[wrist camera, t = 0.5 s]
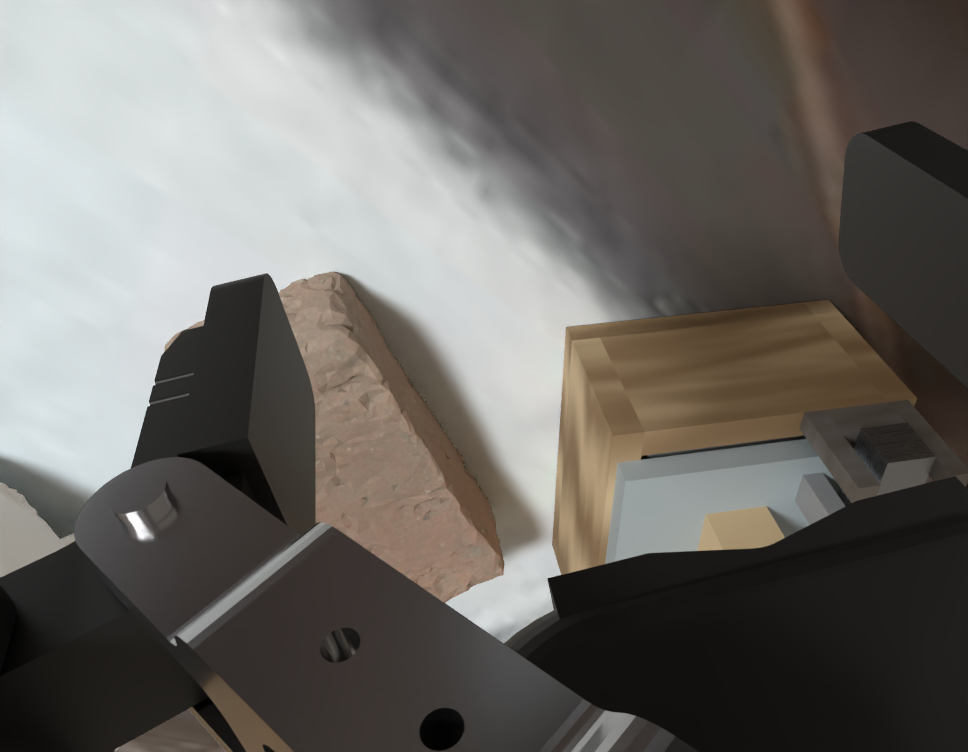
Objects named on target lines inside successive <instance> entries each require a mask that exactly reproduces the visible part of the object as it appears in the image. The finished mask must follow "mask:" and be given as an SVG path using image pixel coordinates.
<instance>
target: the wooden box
mask: <svg viewBox="0 0 968 752" xmlns="http://www.w3.org/2000/svg"><path fill="white" fill-rule="evenodd" d="M916 401H917V398H916V396H915V395H914V394H913V393H912V392H911V391H910V390H909V389H908V388H907V386H906V385H905V384H904V383H903V382H902V381H901V380H900V379H899V378H898V376H897V375H896V374H895V373H894V372H893V371H892V370H891V369H890V367H889V366H888V365H887V364H886V363H885V362H884V361H883V360H882V359H881V357H880V356H879V355H878V354H877V353H876V352H875V351H874V350H873V349H872V347H871V346H870V345H869V344H868V343H867V342H866V341H865V340H864V339H863V337H862V336H861V335H860V334H859V333H858V332H857V331H856V330H855V328H854V327H853V326H852V325H851V324H850V323H849V322H848V321H847V320H846V318H845V317H844V316H843V315H842V314H841V313H840V312H839V311H838V310H837V308H836V307H835V306H834V305H833V304H832V303H831V302H830V301H829V300H820V301H811V302H801V303H792V304H782V305H773V306H763V307H754V308H744V309H735V310H725V311H716V312H706V313H696V314H687V315H677V316H668V317H658V318H649V319H639V320H630V321H620V322H611V323H601V324H592V325H582V326H573V327H566V339H565V354H564V370H563V386H562V401H561V417H560V432H559V448H558V464H557V479H556V495H555V510H554V526H553V542H552V545H553V548H554V552H555V555H556V558H557V562H558V565H559V568H560V572H561V575H563V574H567V573H571V572H575V571H579V570H583V569H587V568H591V567H595V566H599V565H603V564H605V560H606V552H607V544H608V536H609V528H610V520H611V512H612V504H613V496H614V488H615V480H616V472H617V464H618V463H619V462H627V461H635V460H642V459H643V456H644V455H652V454H660V453H668V452H676V451H684V450H692V449H700V448H708V447H716V446H724V445H732V444H739V443H747V442H755V441H763V440H771V439H779V438H787V437H795V436H803V435H804V436H805V437H806V439H807V440H808V441H809V443H810V444H811V446H812V447H813V449H814V450H815V451H816V453H817V454H818V456H819V457H820V459H821V460H822V462H823V463H824V464H825V466H826V467H827V469H828V470H829V472H830V473H831V474H832V476H833V477H834V479H835V480H836V482H837V483H838V485H839V486H840V487H841V489H842V490H843V492H844V493H845V495H846V496H847V497H848V499H849V500H850V502H851V503H853V502H855V501H858V500H862V499H866V498H870V497H874V496H877V494H878V491H879V489H880V486H881V485H880V484H879V482H878V481H877V480H876V478H875V477H874V476H873V474H872V473H871V472H870V470H869V469H868V468H867V466H866V465H865V464H864V462H863V461H862V460H861V458H860V457H859V456H858V454H857V453H856V452H855V450H854V446H855V443H856V441H857V438H858V435H859V432H860V429H861V428H869V427H877V426H884V425H892V424H900V423H908V424H909V425H910V426H911V427H912V429H913V430H914V431H915V432H916V433H917V434H918V436H919V437H920V438H921V439H922V440H923V442H924V443H925V444H926V445H927V446H928V447H929V449H930V450H931V451H932V452H933V453H934V454H935V456H936V459H935V461H934V464H933V466H932V468H931V470H930V473H929V475H930V477H931V478H932V479H933V480H934V481H938V480H942V479H946V478H950V477H954V476H956V477H957V478H958V479H959V481H960V482H961V483H962V484H963V485H964V486H965V487H966V485H967V483H968V468H967V466H966V465H965V464H964V463H963V462H962V461H961V460H960V459H959V457H958V456H957V455H956V454H955V453H954V452H953V451H952V449H951V448H950V447H949V446H948V445H947V444H946V443H945V441H944V440H943V439H942V438H941V437H940V436H939V435H938V434H937V432H936V431H935V430H934V429H933V428H932V427H931V426H930V424H929V423H928V422H927V421H926V420H925V419H924V418H923V417H922V415H921V414H920V413H919V412H918V411H917V410H916V409H915V407H914V406H915V403H916Z"/></svg>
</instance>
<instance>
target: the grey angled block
mask: <svg viewBox="0 0 968 752" xmlns="http://www.w3.org/2000/svg"><path fill="white" fill-rule="evenodd" d="M854 450H855V452H856V453H857V454H858V456H859V457H860V458H861V460H862V461H863V462H864V464H865V465H866V466H867V468H868V469H869V470H870V472H871V473H872V474H873V476H874V477H875V478H876V480H877V481H878V482H879V484H880V485H881V486H880V489H879V491H878V494H877V496H878V495H882V494H886V493H890V492H894V491H898V490H902V489H906V488H910V487H914V486H918V485H922V484H925V482H926V479H927V477H928V475H929V473H930V470H931V468H932V466H933V464H934V461H935V459H936V456H935V454H934V453H933V452H932V451H931V450H930V449H929V447H928V446H927V445H926V444H925V443H924V442H923V440H922V439H921V438H920V437H919V436H918V434H917V433H916V432H915V431H914V430H913V429H912V427H911V426H910V425H909V424H908V423H900V424H892V425H884V426H877V427H869V428H861V429H860V432H859V435H858V438H857V441H856V443H855V446H854ZM837 495H838V496H839V498H840V499H841V500H842V502H843V503H844V505H845V506H847V505H849V504H851V502H850V500H849V499H848V497H847V496H846V495H845V493H844V492H843V490H842V489H841V487H840V488H839V491H838V494H837Z"/></svg>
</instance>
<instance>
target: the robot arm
mask: <svg viewBox="0 0 968 752" xmlns="http://www.w3.org/2000/svg"><path fill="white" fill-rule="evenodd" d="M839 252H840V257H841V261H842V264H843V267H844V269H845V272H846V273H847V275H848V277H849V278H850V280H851V281H852V282H853V283H854V284H855V285H856V286H857V287H858V288H859V289H860V290H861V291H863V292H864V293H865V294H866V295H867V296H868V297H869V298H870V299H871V300H872V301H873V302H874V303H876V304H877V305H878V306H879V307H880V308H881V309H882V310H883V311H884V312H885V313H886V314H887V315H889V316H890V317H891V318H892V319H893V320H894V321H895V322H896V323H897V324H898V325H899V326H900V327H902V328H903V329H904V330H905V331H906V332H907V333H908V334H909V335H910V336H911V337H912V338H913V339H915V340H916V341H917V342H918V343H919V344H920V345H921V346H922V347H923V348H924V349H925V350H927V351H928V352H929V353H930V354H931V355H932V356H933V357H934V358H935V359H936V360H937V361H938V362H940V363H941V364H942V365H943V366H944V367H945V368H946V369H947V370H948V371H949V372H950V373H951V374H953V375H954V376H955V377H956V378H957V379H958V380H959V381H960V382H961V383H962V384H963V385H964V386H966V387H967V388H968V150H966V149H964V148H962V147H960V146H958V145H957V144H955V143H953V142H951V141H949V140H948V139H946V138H944V137H942V136H940V135H939V134H937V133H935V132H933V131H932V130H930V129H928V128H926V127H924V126H923V125H921V124H919V123H917V122H912V121H911V122H906V123H902V124H898V125H893V126H889V127H885V128H881V129H877V130H872V131H868V132H864V133H860V134H857V135H855V136H854V137H853V138H852V139H851V140H850V142H849V144H848V146H847V150H846V154H845V165H844V177H843V190H842V203H841V216H840V228H839ZM155 384H156V385H155V386H153V389H152V392H151V396H150V400H149V403H150V406H148V407H147V411H146V414H145V418H144V422H143V426H142V429H141V433H140V437H139V440H138V444H137V448H136V451H135V455H134V459H133V463H132V466H131V469H129V470H127V471H125V472H123V473H121V474H120V475H118V476H116V477H115V478H113V479H112V480H110V481H109V482H108V483H106V484H105V485H103V486H102V487H101V488H100V489H99V490H98V491H97V492H95V493H94V494H93V496H92V497H91V498H90V499H89V500H88V501H87V502H86V504H85V505H84V507H83V508H82V509H81V511H80V513H79V515H78V517H77V519H76V523H75V527H74V537H75V541H74V542H72V543H71V544H69V545H67V546H65V547H63V548H61V549H59V550H58V551H56V552H54V553H51V554H49V555H47V556H45V557H43V558H41V559H39V560H37V561H34V562H32V563H30V564H28V565H26V566H24V567H22V568H20V569H18V570H15V571H13V572H11V573H9V574H7V575H5V576H3V577H1V578H0V752H115V749H116V748H118V747H120V746H122V745H124V744H125V743H127V742H129V741H131V740H133V739H135V738H136V737H138V736H140V735H142V734H144V733H145V732H147V731H149V730H151V729H153V728H154V727H156V726H158V725H160V724H162V723H163V722H165V721H167V720H169V719H171V718H172V717H174V716H176V715H178V714H180V713H181V712H183V711H185V710H187V709H189V711H190V712H191V713H192V714H193V715H194V716H195V717H196V719H197V720H198V721H199V722H200V723H201V724H202V725H203V726H204V727H205V729H206V730H207V731H208V732H209V733H210V734H211V735H212V736H213V737H214V738H215V740H216V741H217V742H218V743H219V744H220V745H221V746H222V747H223V748H224V750H225V751H226V752H968V489H967V488H966V487H965V486H964V485H963V484H962V483H961V482H960V481H959V479H958V478H957V477H956V476H954V477H950V478H946V479H942V480H938V481H934V482H930V483H926V484H922V485H918V486H914V487H910V488H906V489H902V490H898V491H894V492H890V493H886V494H882V495H878V496H874V497H870V498H866V499H862V500H858V501H855V502H853V503H851V504H849V505H847V506H846V507H844V508H842V509H840V510H838V511H836V512H834V513H832V514H830V515H828V516H826V517H824V518H822V519H820V520H818V521H817V522H815V523H813V524H811V525H809V526H807V527H805V528H803V529H801V530H799V531H797V532H795V533H793V534H791V535H789V536H787V537H786V538H784V539H782V540H780V541H778V542H776V543H774V544H771V545H769V546H765V547H761V548H752V549H729V550H706V551H684V552H661V553H647V554H643V555H639V556H635V557H631V558H627V559H623V560H619V561H615V562H611V563H607V564H603V565H599V566H595V567H591V568H587V569H583V570H579V571H575V572H571V573H567V574H563V575H559V576H555V577H551V578H548V583H549V588H550V593H551V598H552V603H553V608H554V611H552V612H550V613H548V614H546V615H544V616H542V617H541V618H539V619H537V620H535V621H534V622H532V623H531V624H529V625H528V626H526V627H525V628H523V629H522V630H520V631H519V632H517V633H516V634H515V635H514V636H512V637H511V638H510V639H509V640H508V641H507V642H505V643H504V644H503V643H502V642H500V641H499V640H497V639H496V638H495V637H493V636H492V635H490V634H489V633H487V632H486V631H484V630H483V629H482V628H480V627H479V626H477V625H476V624H474V623H473V622H471V621H470V620H468V619H467V618H466V617H464V616H463V615H461V614H460V613H458V612H457V611H455V610H454V609H452V608H451V607H450V606H448V605H447V604H445V603H444V602H442V601H441V600H439V599H438V598H437V597H435V596H434V595H432V594H431V593H429V592H428V591H426V590H425V589H423V588H422V587H421V586H419V585H418V584H416V583H415V582H413V581H412V580H410V579H409V578H407V577H406V576H405V575H403V574H402V573H400V572H399V571H397V570H396V569H394V568H393V567H392V566H390V565H389V564H387V563H386V562H384V561H383V560H381V559H380V558H378V557H377V556H376V555H374V554H373V553H371V552H370V551H368V550H367V549H365V548H364V547H362V546H361V545H360V544H358V543H357V542H355V541H354V540H352V539H351V538H349V537H348V536H347V535H345V534H344V533H342V532H341V531H339V530H338V529H336V528H334V527H333V526H331V525H329V524H326V523H322V522H318V523H316V454H315V402H314V396H313V390H312V386H311V382H310V378H309V375H308V372H307V369H306V366H305V363H304V360H303V358H302V355H301V352H300V350H299V347H298V344H297V342H296V339H295V336H294V334H293V331H292V328H291V325H290V323H289V320H288V317H287V315H286V312H285V309H284V307H283V304H282V301H281V299H280V296H279V293H278V291H277V288H276V286H275V284H274V282H273V280H272V278H271V277H270V275H269V274H267V273H266V274H262V275H258V276H254V277H249V278H245V279H241V280H237V281H233V282H228V283H224V284H220V285H216V286H213V287H212V288H211V292H210V297H209V302H208V306H207V311H206V316H205V321H204V326H200V327H196V328H192V329H188V330H184V331H182V332H181V333H180V334H179V336H178V337H177V338H176V339H175V340H174V342H173V343H172V344H171V345H170V346H169V347H168V349H167V350H166V351H165V352H164V353H163V355H162V356H161V359H160V363H159V366H158V370H157V374H156V377H155Z"/></svg>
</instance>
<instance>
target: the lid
mask: <svg viewBox="0 0 968 752" xmlns="http://www.w3.org/2000/svg"><path fill="white" fill-rule="evenodd" d="M839 488H840V486H839V485H838V483H837V482H836V480H835V479H834V477H833V476H832V474H831V473H830V472H829V470H828V469H827V467H826V466H825V464H824V463H823V462H822V460H821V459H820V457H819V456H818V454H817V453H816V451H815V450H814V449H813V447H812V446H811V444H810V443H809V441H808V440H807V439H806V437H805V436H804V435H803V436H795V437H787V438H779V439H771V440H763V441H755V442H747V443H739V444H732V445H724V446H716V447H708V448H700V449H692V450H684V451H676V452H668V453H660V454H652V455H644V456H643V459H642V460H635V461H627V462H619V463H618V464H617V472H616V480H615V488H614V496H613V504H612V512H611V520H610V528H609V536H608V544H607V552H606V560H605V564H607V563H611V562H615V561H619V560H623V559H627V558H631V557H635V556H639V555H643V554H647V553H661V552H684V551H706V550H729V549H752V548H761V547H765V546H769V545H771V544H774V543H776V542H778V541H780V540H782V539H784V538H786V537H787V536H789V535H791V534H793V533H795V532H797V531H799V530H801V529H803V528H805V527H807V526H809V525H811V524H813V523H815V522H817V521H818V520H820V519H822V518H824V517H826V516H828V515H830V514H832V513H834V512H836V511H838V510H840V509H842V508H844V507H846V506H845V505H844V503H843V502H842V500H841V499H840V498H839V496H838V495H837V494H838V491H839Z"/></svg>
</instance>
